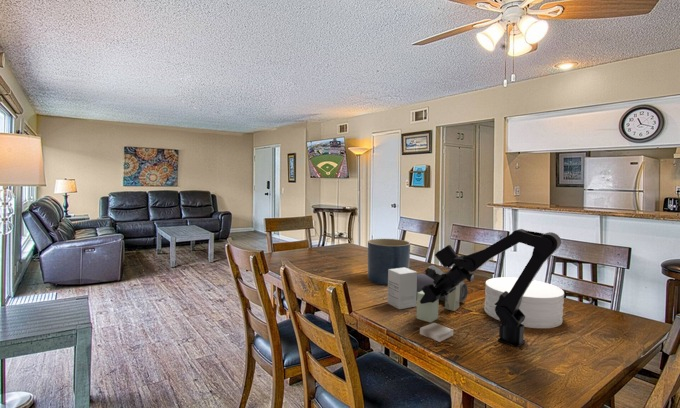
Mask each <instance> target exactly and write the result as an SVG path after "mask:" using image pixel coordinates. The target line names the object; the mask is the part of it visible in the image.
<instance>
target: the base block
mask: <svg viewBox="0 0 680 408" xmlns="http://www.w3.org/2000/svg"><path fill="white" fill-rule="evenodd" d="M419 335H422V336H425V337H426V338H429V339H432V340H434V341H436V342H439V343H440V342H442V341H444V340H446V339H449V338H451V337H453V336H454V329H452V328H449V327H447V326H444V325H442V324H439V323H436V322H430V323H429V324H427V325H423V326H422V327H419Z"/></svg>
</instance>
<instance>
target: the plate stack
mask: <svg viewBox="0 0 680 408" xmlns="http://www.w3.org/2000/svg"><path fill="white" fill-rule="evenodd" d="M518 278H519V277H512V276H511V277H508V276H503V277H501V276H500V277H492V278H489V279H486V281H485V290H484V291H485V294H484V308H483V309H484V312H485V314H487V315H488V316H489V317H492V318H493V319H495V320H498V321H500V319H499V317H498V316H497V314H496V312H495V307H496V305H495V303H496V302H498V300H499V297H500V295H501V294H502V293H504V292H505V291H507V292H508V293H509V292H510V291H511V289H512V288H513V286H514V284H515V283H516V281H517V280H518ZM564 297H565V291H564V290H563V289H562V288H560V287H559V286H556V285H554V284H551V283H548V282H545V281H544V282H543V281H540V280H536V279H533V281H532V282H531V284H530V285H529V287H528V289H527V290H526V292H525V293H524V295H523V297H522V301H521V304H520V307H519V309H520V311H521V312H522V313H523V314H524V315H525V319H524V321H523V322H522V323H521V324H523V325H524V328H531V329H532V328H533V329H553V328H557V327H560V326H562V324H563V317H564V302H565V298H564Z"/></svg>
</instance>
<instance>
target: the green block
mask: <svg viewBox="0 0 680 408" xmlns="http://www.w3.org/2000/svg"><path fill="white" fill-rule="evenodd" d="M423 296H424V292H423V291H420V292H417V296H416V319H418V320H421V321H424V322H426V323H427V322H428V323H434V321H436V320H438V319H439V301H440V300H439V299H438V300H437V301H435V302H433V303H432V302H429V303H424V304H421V303H420V300H421V299H422V297H423Z"/></svg>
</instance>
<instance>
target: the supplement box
mask: <svg viewBox="0 0 680 408" xmlns="http://www.w3.org/2000/svg"><path fill="white" fill-rule="evenodd" d="M417 274H418V272H417V271H416V270H413V269H410V268H409V269H408V268H405V267H404V268H396V269H388V285H387V304H388V305H390V306H392V307H394V308H395V309H398V310H403V309H410V308H414V307H416V308H417V293H418V292H417Z"/></svg>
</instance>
